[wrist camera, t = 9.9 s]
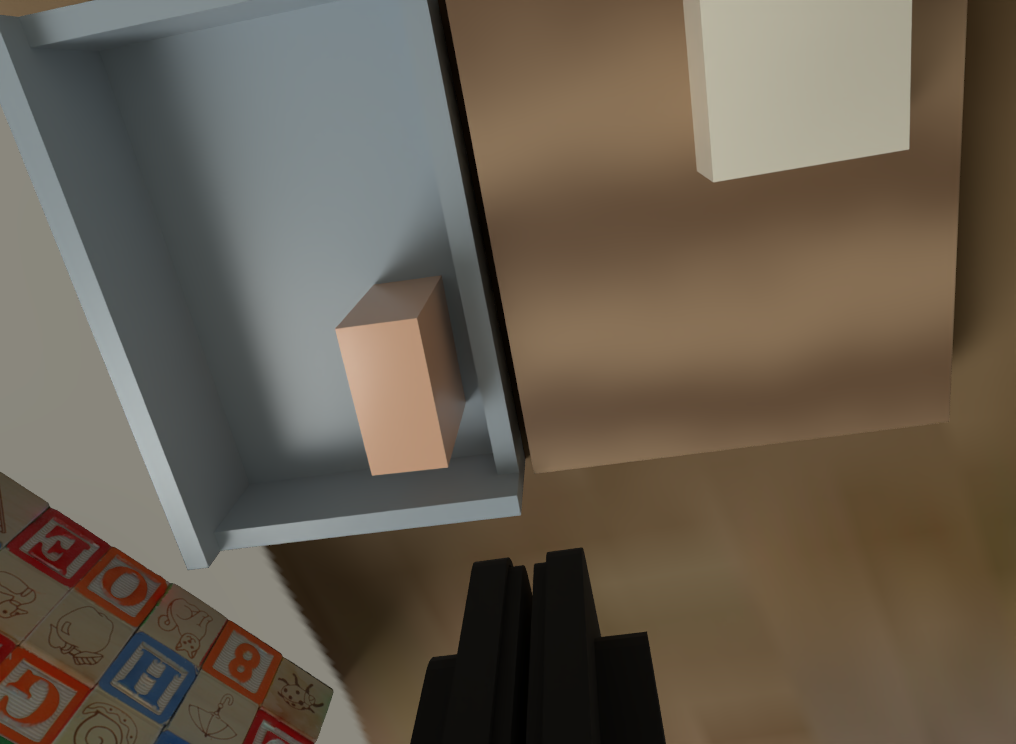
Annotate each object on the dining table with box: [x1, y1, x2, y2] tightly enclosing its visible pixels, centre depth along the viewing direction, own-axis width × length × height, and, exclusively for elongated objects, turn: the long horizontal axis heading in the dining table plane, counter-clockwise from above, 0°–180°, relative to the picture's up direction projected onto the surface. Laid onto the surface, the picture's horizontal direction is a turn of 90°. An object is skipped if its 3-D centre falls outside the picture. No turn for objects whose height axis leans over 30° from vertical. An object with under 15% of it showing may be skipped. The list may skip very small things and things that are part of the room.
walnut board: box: [445, 0, 968, 474], centre depth 24 cm, size 16×14×3 cm
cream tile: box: [683, 0, 912, 182], centre depth 20 cm, size 5×5×2 cm
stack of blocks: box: [0, 472, 333, 744], centre depth 28 cm, size 21×6×12 cm, turn 50°
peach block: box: [335, 275, 466, 476], centre depth 25 cm, size 5×5×2 cm
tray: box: [0, 0, 525, 570], centre depth 25 cm, size 18×12×5 cm, turn 10°
